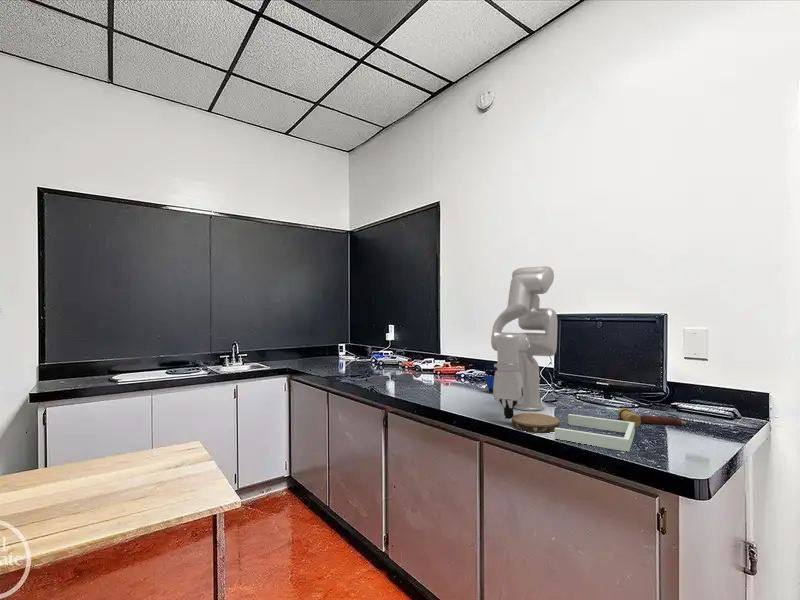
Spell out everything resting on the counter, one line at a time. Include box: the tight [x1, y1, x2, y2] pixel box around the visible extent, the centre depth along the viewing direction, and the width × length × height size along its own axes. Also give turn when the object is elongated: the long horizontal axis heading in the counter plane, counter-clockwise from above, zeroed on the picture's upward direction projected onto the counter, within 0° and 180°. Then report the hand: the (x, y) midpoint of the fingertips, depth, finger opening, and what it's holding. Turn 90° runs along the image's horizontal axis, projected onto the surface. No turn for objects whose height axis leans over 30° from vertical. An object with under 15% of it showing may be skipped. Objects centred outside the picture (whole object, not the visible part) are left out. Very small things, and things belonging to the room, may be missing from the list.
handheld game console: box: [483, 374, 495, 393], centre depth 200 cm, size 16×13×9 cm
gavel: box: [617, 407, 687, 428], centre depth 144 cm, size 21×5×10 cm
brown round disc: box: [511, 412, 560, 434], centre depth 141 cm, size 16×16×3 cm
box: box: [554, 413, 636, 453], centre depth 130 cm, size 21×21×4 cm
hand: (508, 418), depth 146 cm, fingers closed
